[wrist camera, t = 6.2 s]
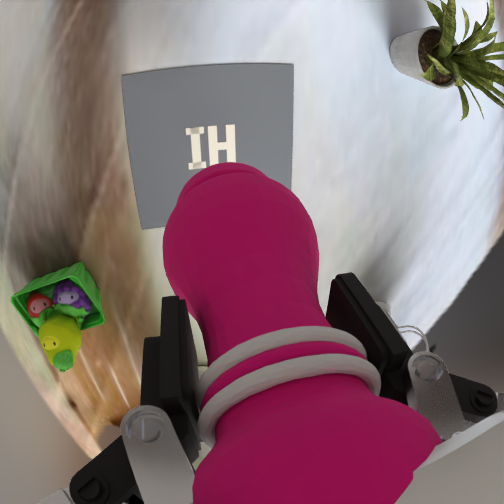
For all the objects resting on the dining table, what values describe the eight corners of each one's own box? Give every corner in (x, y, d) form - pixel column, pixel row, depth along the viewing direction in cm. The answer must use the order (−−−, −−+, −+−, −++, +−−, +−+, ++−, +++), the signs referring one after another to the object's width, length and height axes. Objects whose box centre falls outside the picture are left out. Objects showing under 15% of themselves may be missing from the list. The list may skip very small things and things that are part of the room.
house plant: (459, 31, 26) (558, 45, 13) (443, 121, 33) (539, 162, 20) (374, -16, 23) (480, -40, 9) (355, 88, 30) (463, 114, 16)
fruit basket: (86, 249, 34) (58, 312, 25) (117, 303, 39) (105, 370, 29) (21, 274, 34) (-11, 333, 24) (54, 321, 38) (34, 382, 29)
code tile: (293, 64, 28) (293, 64, 27) (289, 213, 37) (290, 214, 36) (121, 76, 25) (121, 76, 25) (142, 229, 34) (141, 229, 34)
